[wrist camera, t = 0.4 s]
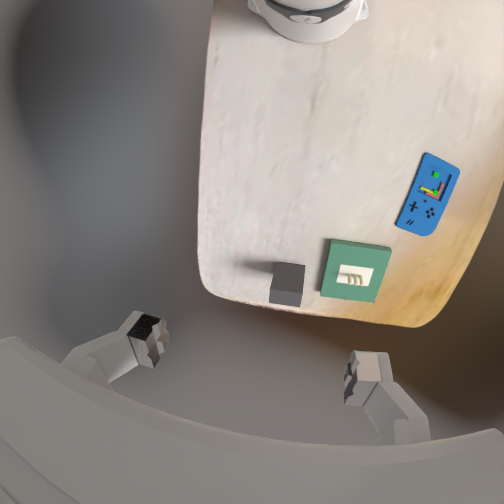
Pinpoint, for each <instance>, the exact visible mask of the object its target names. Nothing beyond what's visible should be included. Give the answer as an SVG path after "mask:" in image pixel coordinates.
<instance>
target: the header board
mask: <svg viewBox="0 0 504 504" xmlns="http://www.w3.org/2000/svg"><path fill="white" fill-rule="evenodd" d="M391 253H392V251H391V248H390V247H383V246H376V245H370V244H363V243H356V242H349V241H342V240H335V239H331V243H330V248H329V253H328V258H327V263H326V268H325V272H324V277H323V281H322V286H321V290H320V296H324V297H331V298H339V299H348V300H356V301H365V302H374V300H375V298H376V295H377V293H378V290H379V287H380V285H381V282H382V279H383V276H384V274H385V271H386V268H387V265H388V262H389V259H390V256H391Z"/></svg>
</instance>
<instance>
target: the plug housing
mask: <svg viewBox="0 0 504 504" xmlns="http://www.w3.org/2000/svg"><path fill="white" fill-rule="evenodd" d="M304 274H305V265H298V264H291V263H283V262H277V263H276V267H275V271H274V275H273V279H272V283H271V287H270V296H269V303H274V304H281V305H288V306H295V307H300V304H301V299H302V294H303V284H304Z"/></svg>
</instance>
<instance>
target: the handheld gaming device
mask: <svg viewBox="0 0 504 504" xmlns="http://www.w3.org/2000/svg"><path fill="white" fill-rule="evenodd" d="M459 174H460V170H459V169H458V168H456V167H455V166H453V165H451V164H449V163H447V162H445V161H443V160H441V159H439V158H437V157H435V156H433V155H431V154H429V153H425V154H424V156H423V158H422V161H421V164H420V167H419V169H418V172H417V175H416V177H415V180H414V182H413V185H412V187H411V190H410V192H409V195H408V197H407V199H406V202H405V204H404V206H403V209H402V211H401V213H400V215H399V218H398V220H397V222H396V225H397V227H399V228H402V229H404V230H407V231H410V232H412V233H415V234H418V235H420V236H428V235H430V234H431V233H432V232H433V231H434V230H435V228H436V226H437V224H438V222H439V220H440V218H441V216H442V214H443V212H444V209H445V207H446V205H447V203H448V201H449V198H450V196H451V194H452V191H453V189H454V187H455V184H456V182H457V179H458V177H459Z"/></svg>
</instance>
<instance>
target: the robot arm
mask: <svg viewBox="0 0 504 504" xmlns="http://www.w3.org/2000/svg"><path fill="white" fill-rule="evenodd" d="M247 5H248V8H249V9H250V10H251V11H253V12H254V13H256V14H258V15H260V16H262V17H263V18H264V19H265V20H266V21H267V22H268V23H269V25H270V26H271V27H272V28H273V29H274V30H275V31H276V32H278V33H279V34H281V35H282V36H284V37H286V38H288V39H291V40H294V41H297V42H302V43H324V42H328V41H331V40H334V39H336V38H338V37H340V36H341V35H342V34H344V33H345V32H346V31H347V30H348V29H349V28H350V27H351V26H352V25H353V24H354V23H357V22H360V21H363V20H365V19H366V18H367V17H368V14H369V12H368V8H367V4H366V1H365V0H248V3H247ZM165 326H166V321H165V319H163V318H159V317H156V316H152V315H149V314H146V313H142V312H139V311H134V312H133V313H132V314H131V315H130V316H129V317H128V319H127V320H126V321H125V322H124V323H123V325H122V326H121V327H120V328H119V330H118V331H117V332H111V333H109V334H107V335H104V336H102V337H100V338H97V339H95V340H92V341H90V342H88V343H85V344H83V345H80V346H78V347H75V348H74V349H73V350H72V351H71V352H70V354H69V355H68V356H67V357H66V359H65V360H64V361H63V362H62V363H61V364H58V363H56V362H55V361H53V360H52V359H50V358H48V357H47V356H45V355H44V354H42V353H40V352H39V351H37V350H36V349H34V348H33V347H31V346H30V345H28V344H27V343H25V342H24V341H23V340H21V339H20V338H18V337H10V338H6V339H3V340H0V504H504V435H503V434H502V433H501V432H499V431H498V430H497V429H488V430H484V431H480V432H476V433H472V434H467V435H463V436H458V437H453V438H447V439H441V440H435V441H431V437H430V430H429V424H428V418H427V416H426V415H425V414H424V413H423V411H422V410H421V409H420V408H419V407H418V406H417V405H416V404H415V402H414V401H413V400H412V399H411V398H410V397H409V396H408V395H407V394H406V393H405V391H404V390H403V389H402V388H401V387H400V386H399V385H398V384H397V383H394V382H393V377H392V371H391V366H390V361H389V356H388V354H387V353H381V352H365V351H364V352H363V351H353V352H352V354H351V362H349V363H348V364H347V366H346V369H345V373H344V385H345V386H346V389H345V391H344V405H349V406H363V409H364V411H365V412H366V414H367V416H368V417H369V419H370V421H371V422H372V424H373V425H374V427H375V429H376V430H377V432H378V433H379V435H380V437H379V438H378V439H377V440H376V441H375V442H374V443H373V444H372V445H371V446H339V445H338V446H337V445H320V444H308V443H298V442H289V441H282V440H275V439H268V438H262V437H256V436H251V435H246V434H241V433H236V432H232V431H227V430H223V429H219V428H215V427H211V426H207V425H203V424H199V423H196V422H193V421H189V420H186V419H183V418H179V417H176V416H173V415H170V414H167V413H164V412H162V411H159V410H156V409H153V408H150V407H148V406H145V405H143V404H140V403H138V402H135V401H133V400H130V399H128V398H126V397H123V396H121V395H119V394H116V393H114V392H113V389H112V388H111V386H110V384H109V382H111V381H113V380H114V379H116V378H117V377H119V376H121V375H122V374H124V373H126V372H127V371H129V370H131V369H132V368H134V367H135V366H137V365H138V364H141V365H144V366H147V367H151V368H155V366H156V364H157V363H158V361H159V360H160V353H162V352H164V351H165V350H166V348H167V346H168V342H169V334H168V332H167V331H166V329H165Z"/></svg>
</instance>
